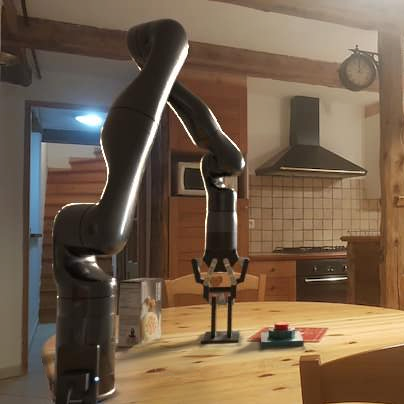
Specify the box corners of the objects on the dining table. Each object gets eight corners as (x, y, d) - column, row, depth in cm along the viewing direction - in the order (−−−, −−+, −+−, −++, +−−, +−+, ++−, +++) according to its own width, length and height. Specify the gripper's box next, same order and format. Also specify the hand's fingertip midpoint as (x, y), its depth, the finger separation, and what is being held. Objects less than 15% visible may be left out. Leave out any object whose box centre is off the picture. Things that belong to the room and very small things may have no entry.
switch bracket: (238, 345, 129) (239, 297, 130) (200, 347, 127) (201, 298, 128) (240, 336, 141) (240, 292, 141) (205, 337, 139) (206, 292, 140)
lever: (230, 293, 125) (230, 283, 126) (208, 293, 124) (209, 284, 125) (232, 308, 136) (232, 299, 137) (212, 308, 135) (212, 299, 136)
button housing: (303, 349, 125) (303, 332, 125) (261, 351, 123) (261, 334, 123) (299, 339, 137) (299, 324, 137) (260, 340, 135) (261, 325, 135)
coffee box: (139, 338, 136) (141, 277, 137) (161, 340, 135) (163, 277, 136) (116, 346, 127) (118, 280, 128) (140, 347, 126) (141, 281, 127)
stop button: (289, 331, 129) (289, 324, 129) (274, 332, 128) (274, 324, 128) (288, 328, 132) (288, 321, 132) (274, 329, 132) (274, 322, 132)
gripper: (188, 230, 121) (187, 303, 121) (251, 230, 124) (250, 302, 123) (192, 230, 129) (191, 299, 128) (251, 230, 132) (250, 298, 131)
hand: (220, 300), depth 126 cm, fingers closed on lever, 5 cm apart
